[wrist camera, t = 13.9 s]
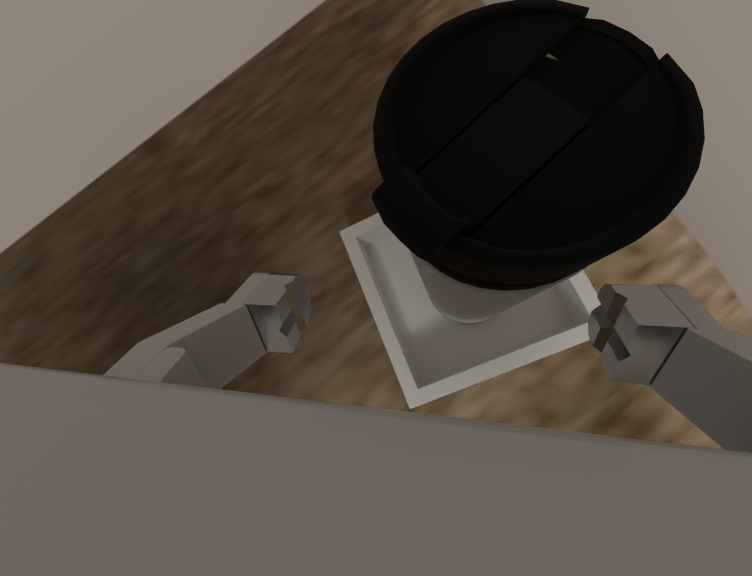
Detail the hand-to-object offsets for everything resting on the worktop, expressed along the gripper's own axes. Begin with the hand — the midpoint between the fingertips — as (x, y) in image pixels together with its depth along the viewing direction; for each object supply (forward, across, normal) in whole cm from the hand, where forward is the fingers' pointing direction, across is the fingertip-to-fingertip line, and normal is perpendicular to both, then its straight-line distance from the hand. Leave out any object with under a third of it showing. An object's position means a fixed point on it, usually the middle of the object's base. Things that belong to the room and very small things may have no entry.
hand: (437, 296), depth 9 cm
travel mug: (+14, -2, +10) cm, 17 cm away
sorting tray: (+15, -1, +10) cm, 18 cm away
